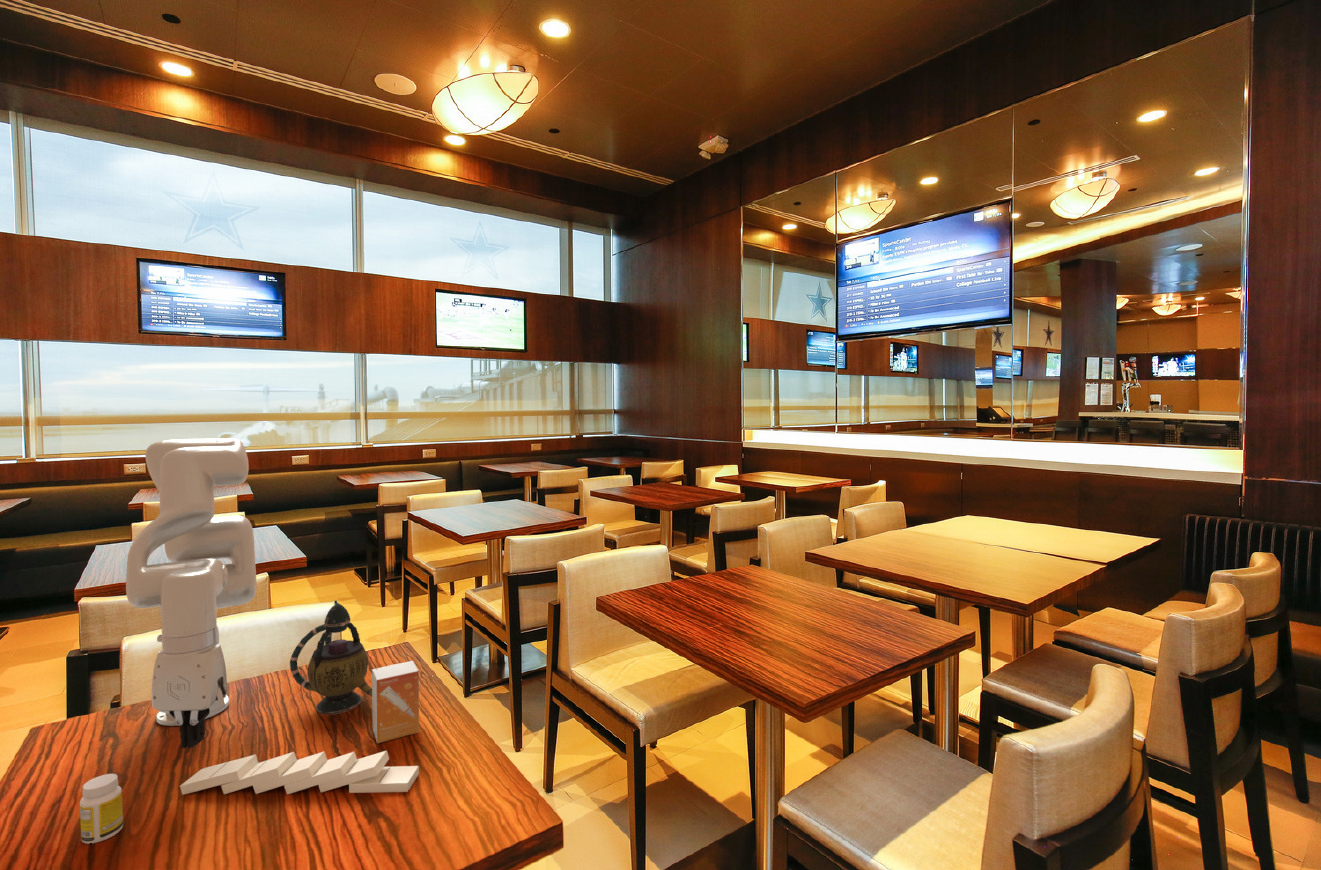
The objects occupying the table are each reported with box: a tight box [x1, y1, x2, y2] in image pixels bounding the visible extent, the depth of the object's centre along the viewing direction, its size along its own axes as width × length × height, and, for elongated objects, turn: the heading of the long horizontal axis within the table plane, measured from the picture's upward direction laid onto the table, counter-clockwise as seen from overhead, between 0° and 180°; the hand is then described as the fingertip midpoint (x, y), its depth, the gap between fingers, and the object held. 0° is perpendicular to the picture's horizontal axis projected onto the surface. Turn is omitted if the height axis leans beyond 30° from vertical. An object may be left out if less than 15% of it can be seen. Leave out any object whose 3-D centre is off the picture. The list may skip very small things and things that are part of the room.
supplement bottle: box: [79, 773, 124, 845], centre depth 92 cm, size 5×5×8 cm
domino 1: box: [179, 754, 259, 796], centre depth 104 cm, size 2×5×10 cm
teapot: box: [289, 600, 372, 716], centre depth 132 cm, size 12×25×23 cm, turn 70°
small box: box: [371, 660, 420, 744], centre depth 122 cm, size 8×6×13 cm
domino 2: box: [220, 751, 298, 795], centre depth 104 cm, size 2×5×10 cm
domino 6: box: [348, 765, 420, 794], centre depth 105 cm, size 2×5×10 cm
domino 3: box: [252, 751, 328, 795], centre depth 104 cm, size 2×5×10 cm
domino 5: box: [318, 750, 390, 793], centre depth 105 cm, size 2×5×10 cm
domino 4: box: [283, 751, 358, 795], centre depth 104 cm, size 2×5×10 cm
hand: (193, 743), depth 104 cm, fingers closed
